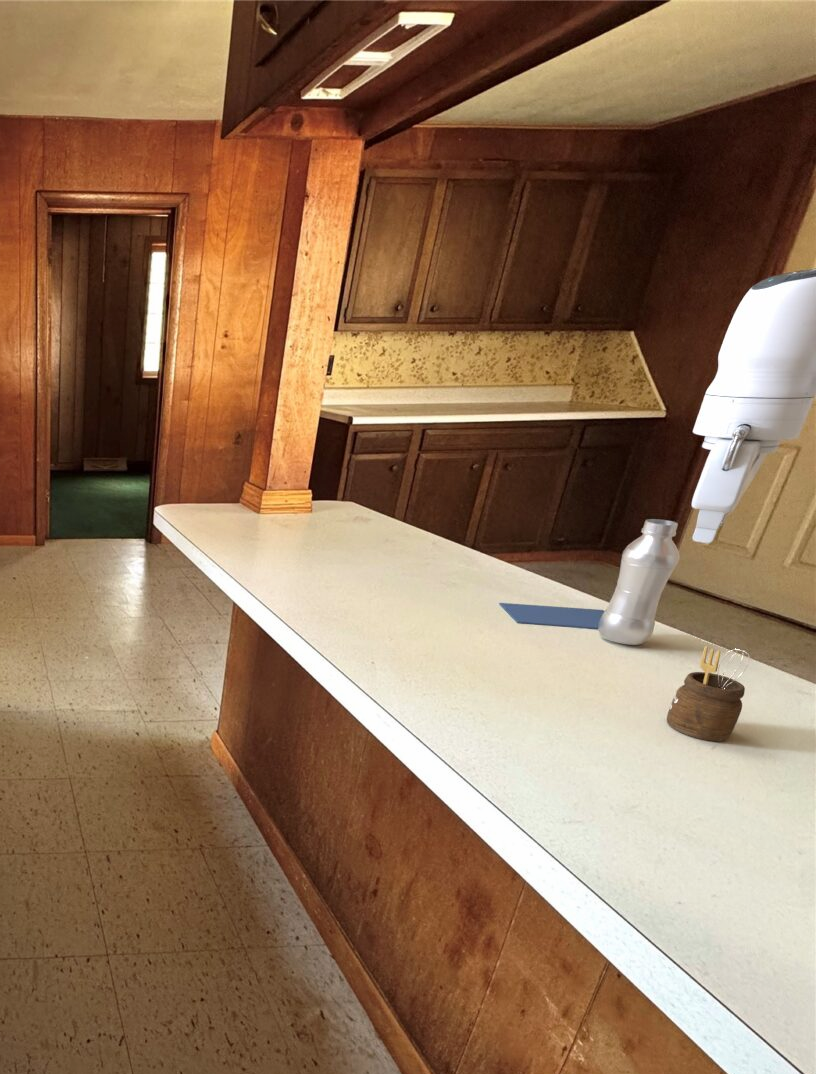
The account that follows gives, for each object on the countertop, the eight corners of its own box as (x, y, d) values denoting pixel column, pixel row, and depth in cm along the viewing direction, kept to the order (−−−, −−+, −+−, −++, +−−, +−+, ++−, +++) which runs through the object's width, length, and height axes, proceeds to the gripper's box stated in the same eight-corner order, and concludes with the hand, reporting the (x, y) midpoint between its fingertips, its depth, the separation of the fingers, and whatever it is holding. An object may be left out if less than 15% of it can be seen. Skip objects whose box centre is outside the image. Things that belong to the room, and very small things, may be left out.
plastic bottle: (584, 632, 111) (621, 516, 104) (629, 633, 110) (670, 516, 103) (611, 649, 105) (652, 527, 98) (659, 650, 104) (704, 528, 97)
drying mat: (602, 611, 119) (603, 609, 118) (628, 631, 111) (629, 630, 110) (499, 604, 123) (499, 602, 123) (517, 623, 115) (517, 621, 115)
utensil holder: (741, 737, 82) (779, 650, 78) (706, 747, 80) (743, 659, 76) (685, 713, 87) (717, 631, 83) (651, 722, 86) (682, 638, 81)
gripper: (782, 432, 70) (734, 557, 75) (793, 414, 82) (750, 522, 87) (699, 428, 74) (659, 546, 79) (721, 411, 86) (685, 514, 91)
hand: (707, 533), depth 83 cm, fingers open, 8 cm apart
